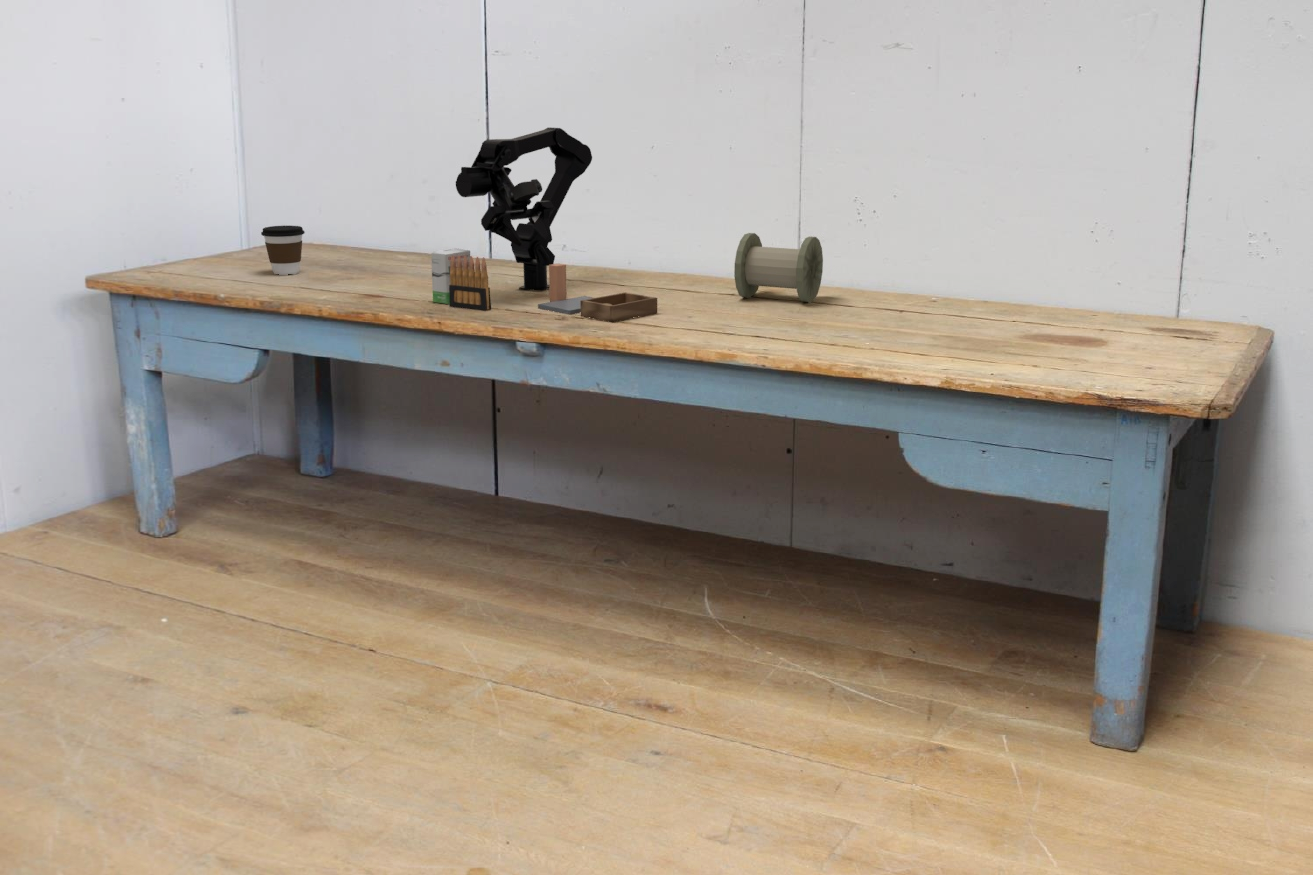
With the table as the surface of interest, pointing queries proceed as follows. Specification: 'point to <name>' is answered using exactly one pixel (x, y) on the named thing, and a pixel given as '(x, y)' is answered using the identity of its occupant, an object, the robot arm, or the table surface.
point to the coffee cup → (284, 248)
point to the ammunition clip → (469, 285)
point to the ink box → (444, 272)
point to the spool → (778, 267)
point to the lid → (560, 293)
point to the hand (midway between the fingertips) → (536, 243)
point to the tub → (618, 307)
